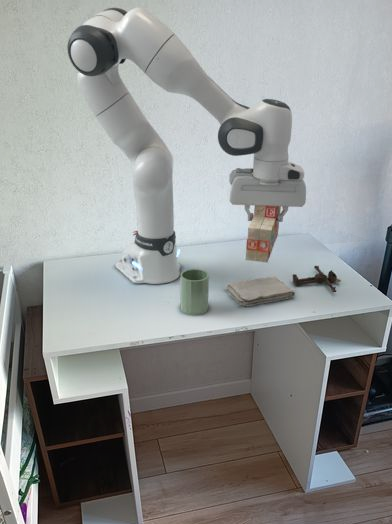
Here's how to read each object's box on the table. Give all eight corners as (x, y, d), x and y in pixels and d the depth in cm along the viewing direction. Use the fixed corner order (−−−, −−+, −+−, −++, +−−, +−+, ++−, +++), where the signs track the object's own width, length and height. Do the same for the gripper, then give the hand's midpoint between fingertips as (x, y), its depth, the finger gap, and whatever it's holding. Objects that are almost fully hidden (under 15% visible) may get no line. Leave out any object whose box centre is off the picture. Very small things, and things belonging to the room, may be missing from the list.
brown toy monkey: (285, 263, 163) (329, 257, 164) (285, 275, 166) (328, 269, 167) (303, 289, 149) (351, 282, 150) (302, 301, 151) (349, 294, 152)
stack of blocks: (268, 263, 134) (272, 218, 127) (244, 260, 135) (248, 215, 128) (278, 234, 151) (282, 193, 144) (257, 232, 153) (260, 191, 146)
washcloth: (223, 290, 154) (224, 281, 152) (275, 281, 159) (276, 272, 158) (240, 308, 145) (241, 299, 143) (295, 298, 150) (296, 289, 149)
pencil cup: (175, 307, 145) (174, 274, 139) (195, 298, 149) (195, 266, 144) (193, 317, 140) (193, 283, 134) (213, 308, 145) (214, 275, 139)
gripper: (229, 171, 129) (227, 223, 137) (310, 173, 128) (303, 226, 136) (229, 164, 134) (227, 215, 142) (307, 167, 133) (300, 218, 141)
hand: (265, 220), depth 139 cm, fingers closed on stack of blocks, 6 cm apart
